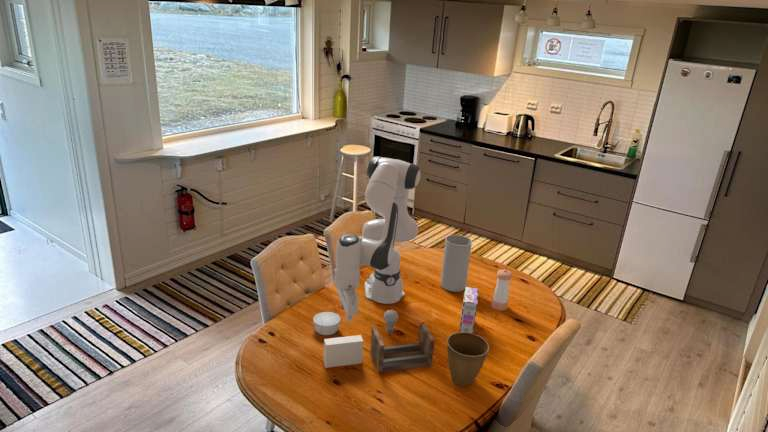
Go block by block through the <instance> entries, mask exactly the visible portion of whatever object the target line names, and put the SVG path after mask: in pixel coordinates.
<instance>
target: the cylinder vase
mask: <svg viewBox="0 0 768 432" xmlns="http://www.w3.org/2000/svg"><path fill="white" fill-rule="evenodd" d="M472 243H473V241H472V239H471V238H470V237H467V236H465V235H461V234H449V235H447V236H446V237H445V242H444V250H443V259H442V266H441V267H442V269H441V277H440V287H441V288H442V289H444V290H445V291H448V292H453V293H454V292H455V293H458V292H462V291H465V287H467V280H468V274H469V268H470V267H469V265H470V258H471V252H472V251H471V250H472Z"/></svg>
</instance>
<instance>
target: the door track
mask: <svg viewBox="0 0 768 432" xmlns="http://www.w3.org/2000/svg"><path fill="white" fill-rule="evenodd" d="M418 330H419V331H418V338H417V343H409V344H408V343H407V344H400V345H392V346H385V344H384V341H383V339H382V337H381V335H380V334H379V331H378V329H377V327H376V326H375V327H371V337H370V351H369V354H370V356H371V359H372V361H373V364H374V366H375V368H376V370H377V373H378V374H383V373H389V372H390V373H391V372H397V371H398V372H399V371H407V370H412V369H421V368H428V367H433V366H432V365H433V357H434V350H435V349H434V348H435V341H436V340H435V337H434V336H433V335H432V333H431V332H430V330H429V329H428V327H427V325H426V323H425V321H423V322H421V321H420V322H419V329H418Z"/></svg>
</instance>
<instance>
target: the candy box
mask: <svg viewBox="0 0 768 432" xmlns="http://www.w3.org/2000/svg"><path fill="white" fill-rule="evenodd" d="M478 299H479V288H476V287H470V286H466V287H465V289H464V292H463V299H462V300H463V301H462V307H461V313H460V315H461V316H460V324H459V330H458V331H459V332H468V333H473V334H474V328H475V321H476V320H475V319H476V315H477V310H478V309H477V308H478V301H479V300H478Z"/></svg>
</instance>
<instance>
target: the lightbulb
mask: <svg viewBox="0 0 768 432" xmlns="http://www.w3.org/2000/svg"><path fill="white" fill-rule="evenodd" d="M383 320H384V323H385V326H386V334H388V335H392V334H393V333H394V329H395V325H396V323H397V322H398V321H399V313H398V312H397V311H396V310H394V309H387V310H386V311H385V312H384V313H383Z"/></svg>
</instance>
